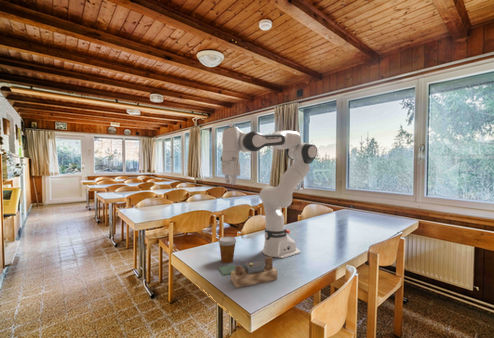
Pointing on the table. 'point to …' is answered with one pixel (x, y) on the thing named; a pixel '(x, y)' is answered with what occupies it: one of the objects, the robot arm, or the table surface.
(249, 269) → the lever cap
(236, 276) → the plane body
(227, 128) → the robot arm
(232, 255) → the disposable coffee cup
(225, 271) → the felt pad
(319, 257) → the table surface
